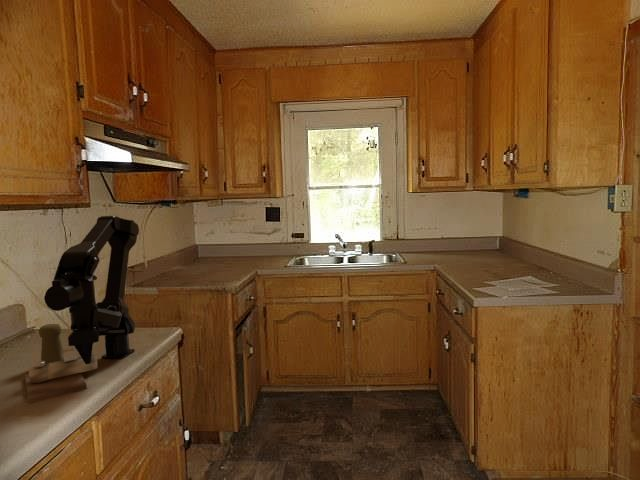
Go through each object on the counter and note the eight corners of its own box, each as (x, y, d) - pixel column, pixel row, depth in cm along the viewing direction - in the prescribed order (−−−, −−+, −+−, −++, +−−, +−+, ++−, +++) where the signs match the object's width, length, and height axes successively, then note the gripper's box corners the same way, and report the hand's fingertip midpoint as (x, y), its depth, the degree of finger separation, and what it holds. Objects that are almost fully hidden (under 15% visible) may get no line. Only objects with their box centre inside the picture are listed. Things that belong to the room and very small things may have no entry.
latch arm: (30, 384, 109) (29, 372, 109) (29, 378, 113) (28, 366, 113) (99, 369, 117) (98, 357, 117) (96, 364, 121) (95, 353, 121)
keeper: (35, 388, 110) (33, 364, 109) (32, 379, 116) (30, 356, 116) (79, 378, 115) (77, 354, 115) (74, 369, 122) (72, 347, 121)
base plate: (25, 378, 117) (24, 374, 117) (76, 367, 123) (76, 363, 123) (28, 402, 102) (28, 398, 102) (86, 388, 109) (86, 384, 109)
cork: (60, 359, 131) (56, 320, 129) (70, 363, 127) (66, 323, 126) (36, 365, 126) (32, 325, 125) (46, 370, 122) (41, 329, 121)
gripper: (119, 303, 109) (124, 368, 111) (117, 291, 126) (122, 348, 128) (65, 310, 105) (71, 378, 106) (71, 296, 122) (76, 355, 123)
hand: (88, 363), depth 116 cm, fingers closed
